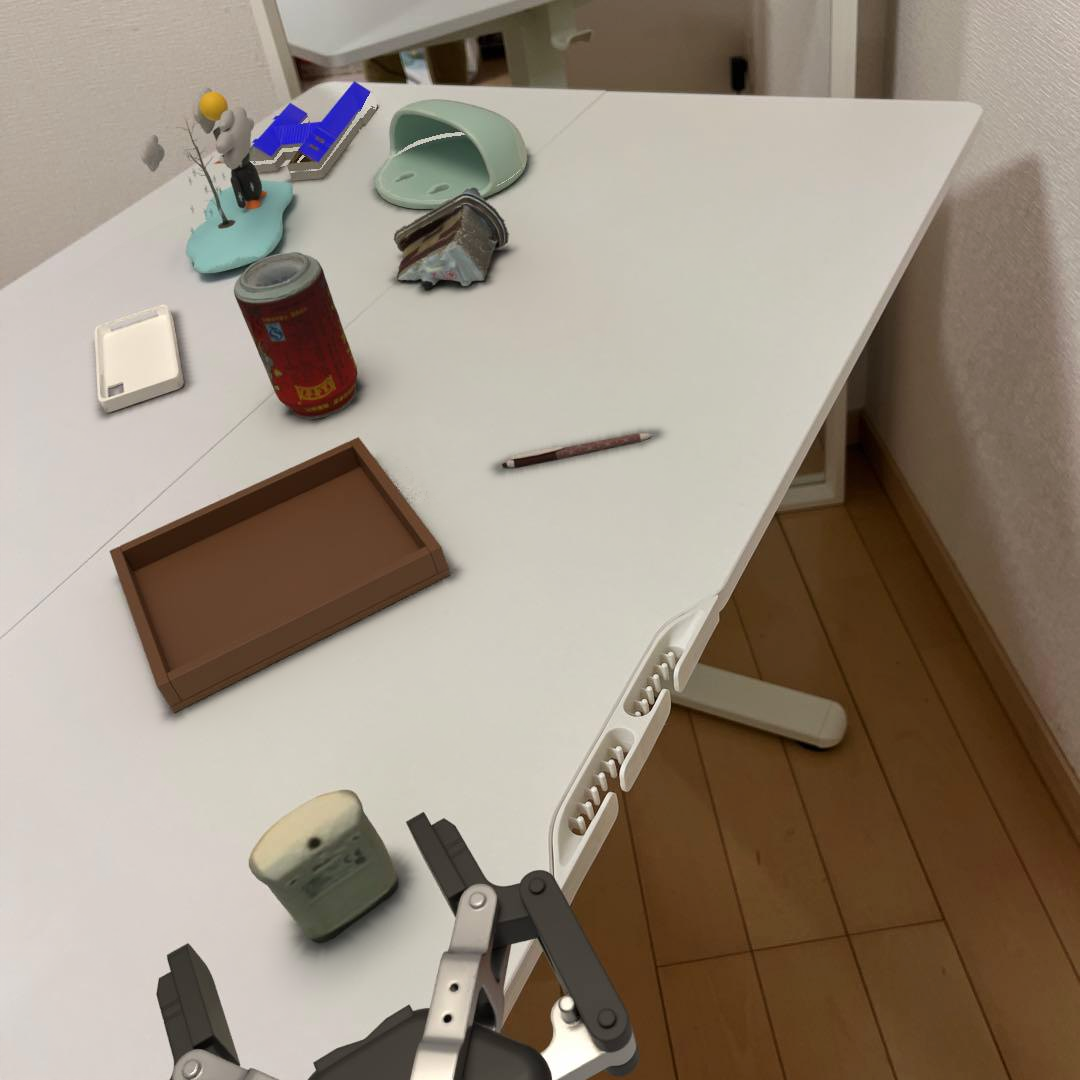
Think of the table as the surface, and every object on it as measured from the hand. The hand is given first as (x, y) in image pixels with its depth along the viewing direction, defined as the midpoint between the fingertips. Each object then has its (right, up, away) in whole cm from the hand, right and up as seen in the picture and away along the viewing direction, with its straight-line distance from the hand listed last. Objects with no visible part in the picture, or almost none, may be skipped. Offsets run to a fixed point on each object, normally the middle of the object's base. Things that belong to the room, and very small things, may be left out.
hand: (306, 893), depth 37 cm
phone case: (-30, +29, +67) cm, 78 cm away
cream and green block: (-2, -7, +20) cm, 21 cm away
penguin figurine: (-24, +45, +83) cm, 98 cm away
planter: (-2, +52, +85) cm, 100 cm away
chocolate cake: (-1, +37, +69) cm, 78 cm away
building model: (-20, +61, +99) cm, 118 cm away
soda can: (-10, +24, +56) cm, 62 cm away
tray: (-10, +9, +40) cm, 42 cm away
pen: (+11, +18, +44) cm, 49 cm away
